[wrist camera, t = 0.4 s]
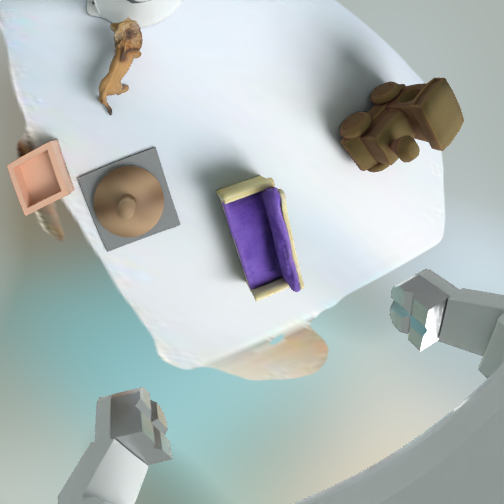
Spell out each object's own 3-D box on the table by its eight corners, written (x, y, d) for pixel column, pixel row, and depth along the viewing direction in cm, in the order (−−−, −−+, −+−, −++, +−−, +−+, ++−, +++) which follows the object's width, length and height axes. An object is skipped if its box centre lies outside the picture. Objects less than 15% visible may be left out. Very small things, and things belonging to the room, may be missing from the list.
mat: (78, 177, 43) (77, 178, 42) (155, 147, 45) (155, 147, 45) (107, 250, 49) (107, 251, 49) (180, 224, 51) (180, 224, 51)
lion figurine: (117, 30, 34) (110, 13, 27) (148, 33, 36) (147, 15, 29) (96, 114, 40) (83, 112, 32) (127, 116, 41) (121, 115, 34)
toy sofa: (213, 186, 51) (226, 201, 42) (260, 171, 52) (282, 182, 43) (245, 284, 61) (261, 313, 52) (284, 269, 62) (306, 294, 53)
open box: (15, 162, 37) (6, 165, 34) (57, 139, 39) (50, 141, 36) (32, 209, 42) (25, 215, 39) (74, 189, 43) (68, 194, 40)
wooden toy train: (384, 75, 50) (444, 73, 36) (409, 115, 56) (467, 124, 41) (327, 133, 52) (385, 143, 38) (358, 174, 58) (415, 195, 44)
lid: (84, 181, 43) (76, 188, 38) (151, 155, 45) (150, 159, 40) (110, 244, 49) (105, 257, 44) (173, 221, 50) (175, 232, 46)
